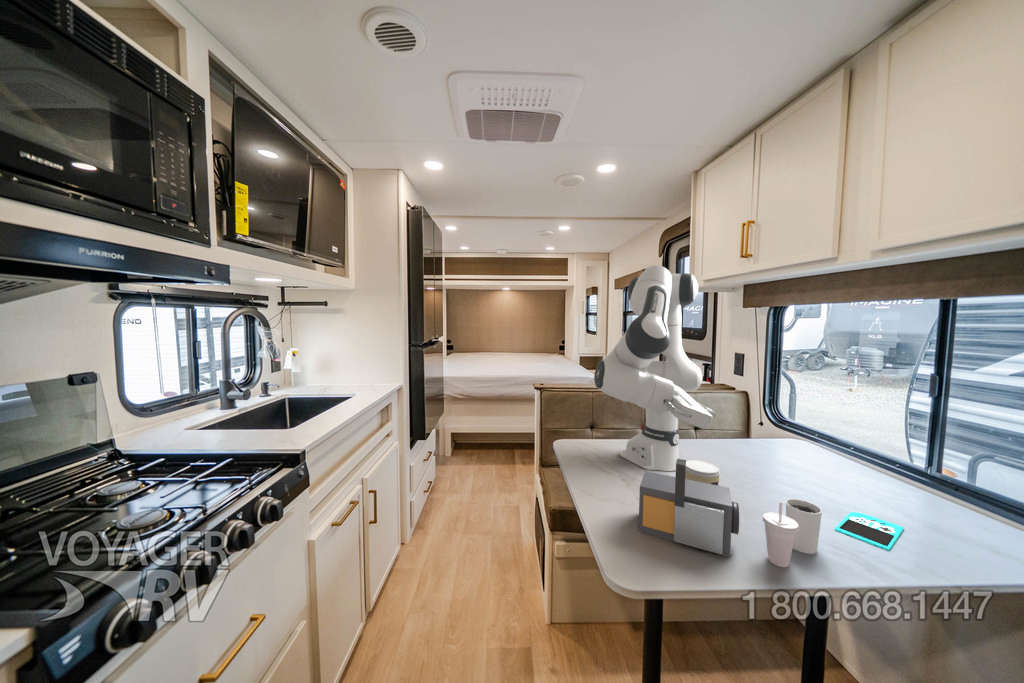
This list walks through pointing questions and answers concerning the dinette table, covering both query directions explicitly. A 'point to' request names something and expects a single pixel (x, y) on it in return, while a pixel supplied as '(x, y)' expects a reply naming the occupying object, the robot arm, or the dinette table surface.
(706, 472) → the coffee cup
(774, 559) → the smoothie
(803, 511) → the white cylindrical cup
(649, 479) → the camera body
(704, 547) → the side door
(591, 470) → the dinette table surface
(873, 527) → the handheld game console
